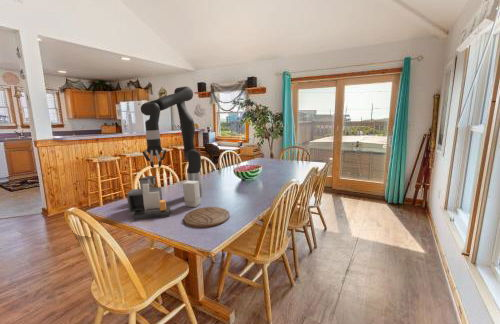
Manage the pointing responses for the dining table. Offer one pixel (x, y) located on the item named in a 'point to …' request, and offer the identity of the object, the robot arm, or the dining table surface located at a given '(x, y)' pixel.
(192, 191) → the skincare box
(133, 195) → the dark grey stand
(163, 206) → the fader
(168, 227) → the dining table surface
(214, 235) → the dining table surface
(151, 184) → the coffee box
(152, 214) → the console
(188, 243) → the dining table surface
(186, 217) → the trivet
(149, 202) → the sliding door
